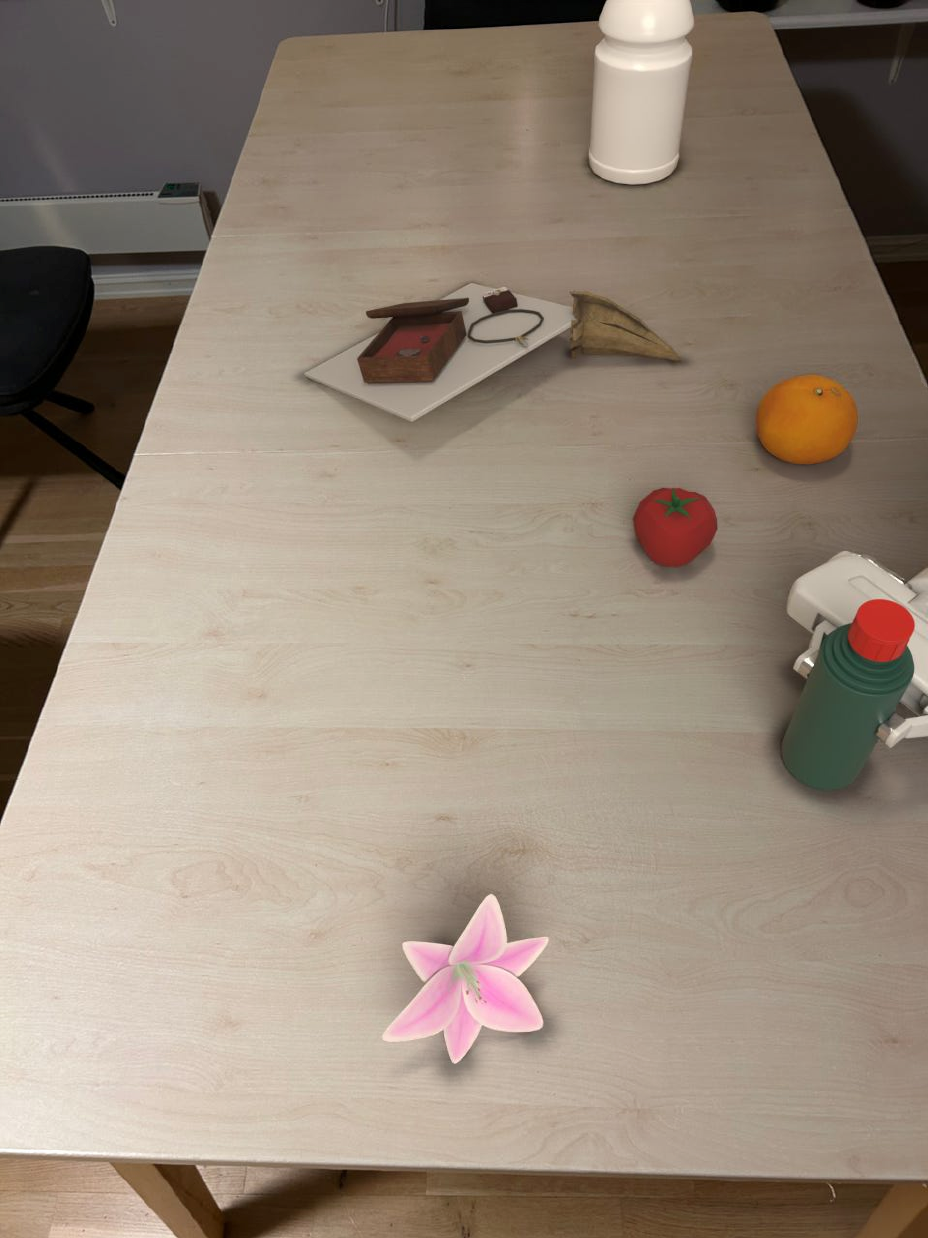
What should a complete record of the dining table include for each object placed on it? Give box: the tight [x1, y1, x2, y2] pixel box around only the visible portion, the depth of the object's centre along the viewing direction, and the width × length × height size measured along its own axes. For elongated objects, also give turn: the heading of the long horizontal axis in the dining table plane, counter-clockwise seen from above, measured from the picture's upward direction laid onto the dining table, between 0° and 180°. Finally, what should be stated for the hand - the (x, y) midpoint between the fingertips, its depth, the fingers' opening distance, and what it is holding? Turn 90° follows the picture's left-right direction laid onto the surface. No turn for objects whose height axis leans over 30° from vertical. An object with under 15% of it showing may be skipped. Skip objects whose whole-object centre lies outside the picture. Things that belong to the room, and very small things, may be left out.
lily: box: [381, 893, 550, 1065], centre depth 66 cm, size 12×12×10 cm
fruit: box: [755, 373, 859, 465], centre depth 101 cm, size 10×10×8 cm
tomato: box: [632, 487, 718, 568], centre depth 93 cm, size 8×8×7 cm
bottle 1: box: [588, 0, 695, 185], centre depth 135 cm, size 14×14×28 cm
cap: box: [847, 599, 915, 662], centre depth 66 cm, size 4×4×2 cm
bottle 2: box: [780, 623, 914, 791], centre depth 72 cm, size 7×7×18 cm
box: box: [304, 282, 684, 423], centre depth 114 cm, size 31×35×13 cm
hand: (842, 703), depth 72 cm, fingers closed on bottle 2, 6 cm apart
